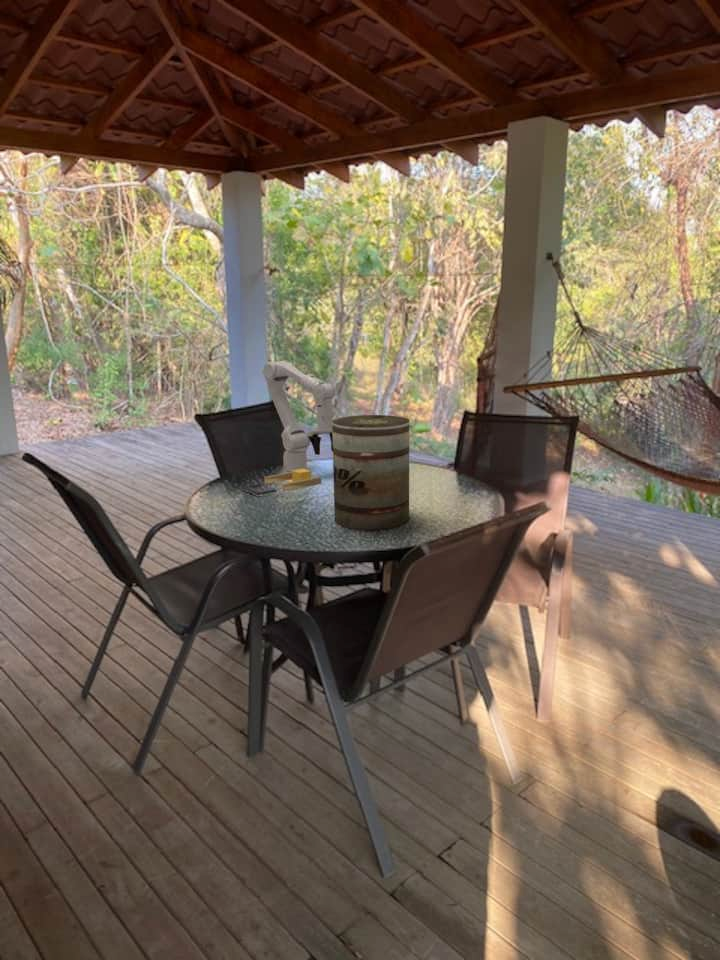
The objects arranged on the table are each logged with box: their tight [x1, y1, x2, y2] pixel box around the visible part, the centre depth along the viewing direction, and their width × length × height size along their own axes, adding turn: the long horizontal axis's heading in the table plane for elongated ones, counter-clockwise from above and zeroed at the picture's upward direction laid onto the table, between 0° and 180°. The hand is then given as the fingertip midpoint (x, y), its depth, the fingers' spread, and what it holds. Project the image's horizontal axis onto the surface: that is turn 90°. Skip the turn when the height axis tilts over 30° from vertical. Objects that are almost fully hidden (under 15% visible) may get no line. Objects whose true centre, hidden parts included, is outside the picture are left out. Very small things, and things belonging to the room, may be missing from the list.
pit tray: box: [241, 483, 276, 495], centre depth 233 cm, size 11×7×1 cm, turn 38°
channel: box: [263, 472, 322, 492], centre depth 241 cm, size 14×15×3 cm
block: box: [292, 468, 312, 482], centre depth 243 cm, size 5×5×4 cm
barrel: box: [332, 414, 410, 532], centre depth 197 cm, size 22×22×30 cm
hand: (325, 452), depth 248 cm, fingers open, 7 cm apart
